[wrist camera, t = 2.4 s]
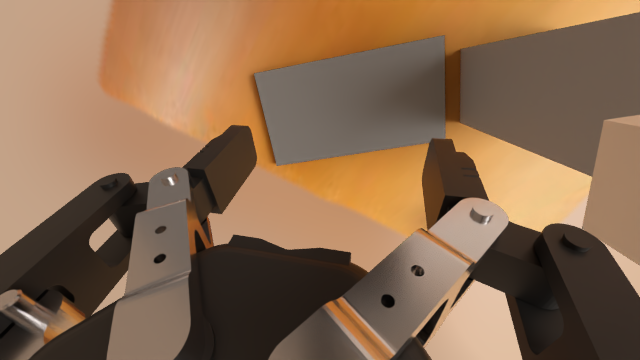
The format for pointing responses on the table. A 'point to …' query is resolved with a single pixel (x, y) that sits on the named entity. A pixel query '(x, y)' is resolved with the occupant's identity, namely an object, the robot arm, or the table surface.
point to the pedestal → (554, 88)
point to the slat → (617, 188)
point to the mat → (356, 102)
